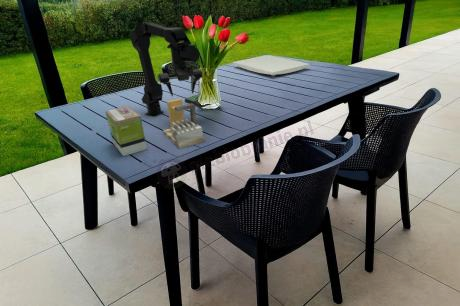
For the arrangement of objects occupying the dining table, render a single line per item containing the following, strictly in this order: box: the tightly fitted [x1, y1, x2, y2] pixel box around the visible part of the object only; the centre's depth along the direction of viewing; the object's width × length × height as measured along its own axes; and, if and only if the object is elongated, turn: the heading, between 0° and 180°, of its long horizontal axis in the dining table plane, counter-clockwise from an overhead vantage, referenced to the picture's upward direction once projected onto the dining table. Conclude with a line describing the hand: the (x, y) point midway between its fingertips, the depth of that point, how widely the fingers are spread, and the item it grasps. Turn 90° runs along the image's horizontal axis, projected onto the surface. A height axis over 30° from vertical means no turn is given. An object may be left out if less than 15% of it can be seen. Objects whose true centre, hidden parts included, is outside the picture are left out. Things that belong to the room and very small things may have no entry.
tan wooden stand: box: [162, 103, 206, 149], centre depth 146 cm, size 18×11×14 cm, turn 30°
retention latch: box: [166, 98, 185, 131], centre depth 148 cm, size 6×6×13 cm
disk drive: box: [184, 94, 212, 109], centre depth 190 cm, size 10×3×15 cm
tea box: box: [105, 105, 148, 157], centre depth 140 cm, size 15×10×15 cm
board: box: [232, 54, 311, 77], centre depth 247 cm, size 45×32×5 cm
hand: (182, 94), depth 158 cm, fingers open, 9 cm apart
